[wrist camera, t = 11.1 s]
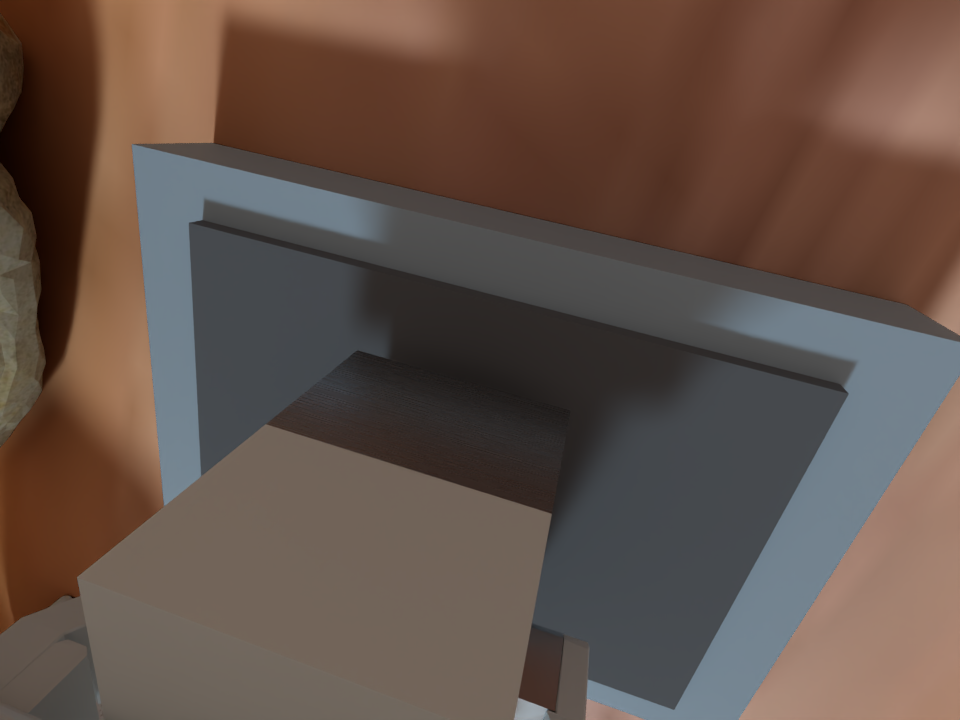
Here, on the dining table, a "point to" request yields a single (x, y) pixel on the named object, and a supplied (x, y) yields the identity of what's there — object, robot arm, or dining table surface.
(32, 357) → the rough brown rock
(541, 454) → the block
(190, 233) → the grey shallow rectangular tray
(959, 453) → the dining table surface
